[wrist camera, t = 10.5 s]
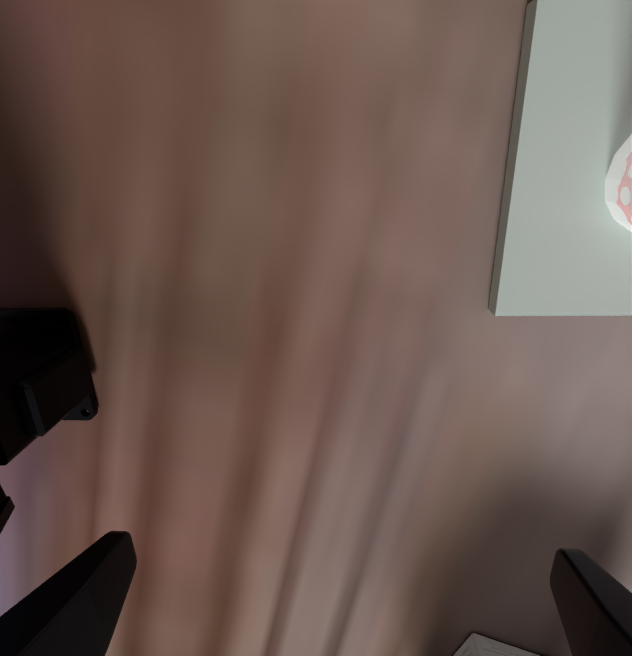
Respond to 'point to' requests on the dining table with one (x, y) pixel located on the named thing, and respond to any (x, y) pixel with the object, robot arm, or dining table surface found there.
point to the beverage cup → (620, 185)
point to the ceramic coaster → (566, 165)
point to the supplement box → (488, 648)
